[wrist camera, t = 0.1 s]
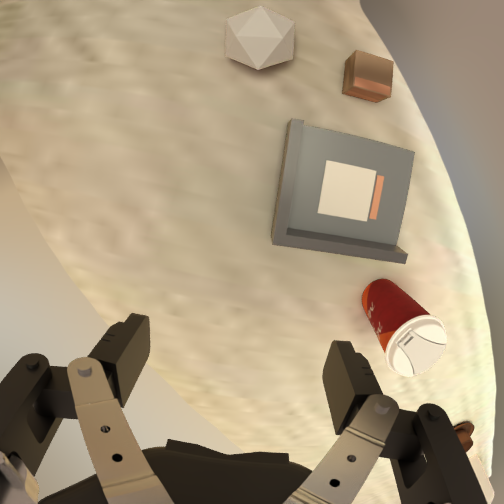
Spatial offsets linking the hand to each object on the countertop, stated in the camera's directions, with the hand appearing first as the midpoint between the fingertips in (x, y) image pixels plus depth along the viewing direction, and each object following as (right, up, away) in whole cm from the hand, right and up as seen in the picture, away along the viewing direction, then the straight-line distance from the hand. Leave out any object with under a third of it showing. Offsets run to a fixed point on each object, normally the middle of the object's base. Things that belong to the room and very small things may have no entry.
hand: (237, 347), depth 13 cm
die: (+2, +31, +21) cm, 37 cm away
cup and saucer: (+53, -44, +44) cm, 82 cm away
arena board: (+13, +12, +26) cm, 32 cm away
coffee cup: (+20, -3, +31) cm, 37 cm away
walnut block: (+15, +27, +22) cm, 38 cm away
